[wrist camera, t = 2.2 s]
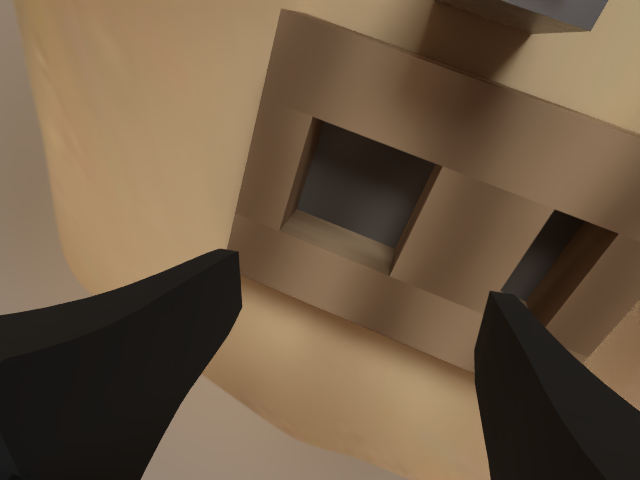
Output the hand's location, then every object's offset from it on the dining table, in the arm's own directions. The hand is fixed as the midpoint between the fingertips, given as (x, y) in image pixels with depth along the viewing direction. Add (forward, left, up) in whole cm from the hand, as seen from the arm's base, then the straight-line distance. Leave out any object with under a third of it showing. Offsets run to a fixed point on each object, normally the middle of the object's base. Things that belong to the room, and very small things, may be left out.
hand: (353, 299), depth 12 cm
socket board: (-2, 0, -10) cm, 10 cm away
